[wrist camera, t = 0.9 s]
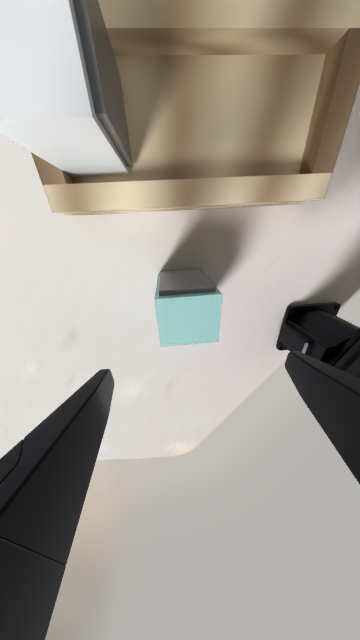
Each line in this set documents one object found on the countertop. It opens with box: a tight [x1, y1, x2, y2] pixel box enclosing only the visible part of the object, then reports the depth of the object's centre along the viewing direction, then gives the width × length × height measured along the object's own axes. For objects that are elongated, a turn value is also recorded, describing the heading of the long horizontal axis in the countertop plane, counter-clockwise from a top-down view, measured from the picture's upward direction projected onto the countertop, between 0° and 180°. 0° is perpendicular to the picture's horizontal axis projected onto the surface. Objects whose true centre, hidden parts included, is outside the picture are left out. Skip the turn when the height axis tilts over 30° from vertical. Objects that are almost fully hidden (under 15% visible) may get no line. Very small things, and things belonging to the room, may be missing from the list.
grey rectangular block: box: [0, 0, 133, 177], centre depth 8 cm, size 4×5×7 cm
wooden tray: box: [31, 0, 360, 216], centre depth 11 cm, size 20×9×3 cm, turn 93°
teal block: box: [155, 269, 222, 347], centre depth 15 cm, size 4×5×7 cm
